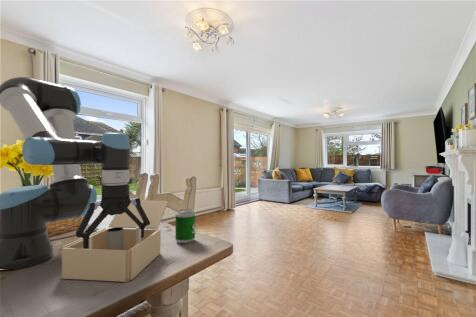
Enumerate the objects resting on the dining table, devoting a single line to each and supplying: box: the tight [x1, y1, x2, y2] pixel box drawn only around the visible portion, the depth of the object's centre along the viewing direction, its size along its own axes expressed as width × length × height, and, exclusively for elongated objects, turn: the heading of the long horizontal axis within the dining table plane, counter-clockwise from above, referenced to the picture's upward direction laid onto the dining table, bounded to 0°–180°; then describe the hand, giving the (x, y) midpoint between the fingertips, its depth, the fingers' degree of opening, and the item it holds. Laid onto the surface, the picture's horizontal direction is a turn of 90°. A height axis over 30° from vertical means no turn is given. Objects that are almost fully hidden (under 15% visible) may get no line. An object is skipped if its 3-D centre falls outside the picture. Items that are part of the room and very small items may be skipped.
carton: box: [61, 227, 162, 283], centre depth 72 cm, size 20×20×8 cm
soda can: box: [175, 208, 196, 244], centre depth 93 cm, size 8×8×12 cm
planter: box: [107, 227, 125, 250], centre depth 72 cm, size 4×4×10 cm
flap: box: [108, 199, 169, 230], centre depth 86 cm, size 18×1×12 cm
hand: (115, 253), depth 72 cm, fingers open, 13 cm apart
